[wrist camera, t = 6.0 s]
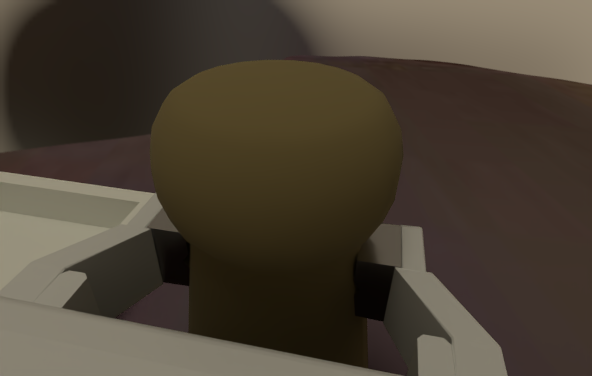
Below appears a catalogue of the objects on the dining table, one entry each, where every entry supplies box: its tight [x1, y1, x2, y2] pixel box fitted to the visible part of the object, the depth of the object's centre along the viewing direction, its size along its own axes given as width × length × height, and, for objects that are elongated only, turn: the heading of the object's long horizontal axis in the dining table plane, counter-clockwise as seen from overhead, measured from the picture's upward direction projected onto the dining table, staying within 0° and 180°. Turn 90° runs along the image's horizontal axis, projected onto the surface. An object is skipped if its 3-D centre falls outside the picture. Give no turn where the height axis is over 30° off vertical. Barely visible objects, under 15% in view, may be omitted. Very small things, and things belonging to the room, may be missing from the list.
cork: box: [150, 60, 403, 369], centre depth 11 cm, size 6×6×11 cm
